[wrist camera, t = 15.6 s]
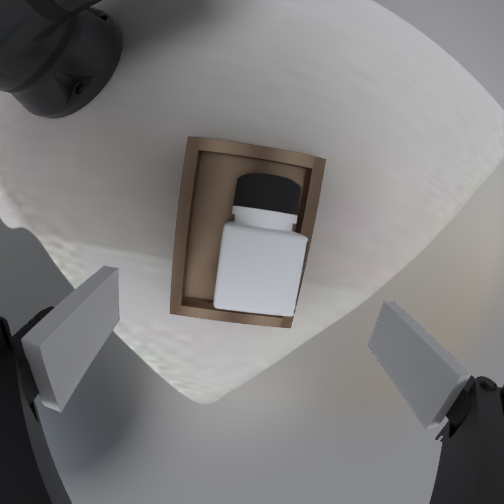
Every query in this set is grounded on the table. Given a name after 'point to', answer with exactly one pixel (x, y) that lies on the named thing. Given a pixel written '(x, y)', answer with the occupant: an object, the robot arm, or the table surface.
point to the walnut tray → (228, 218)
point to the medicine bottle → (261, 248)
